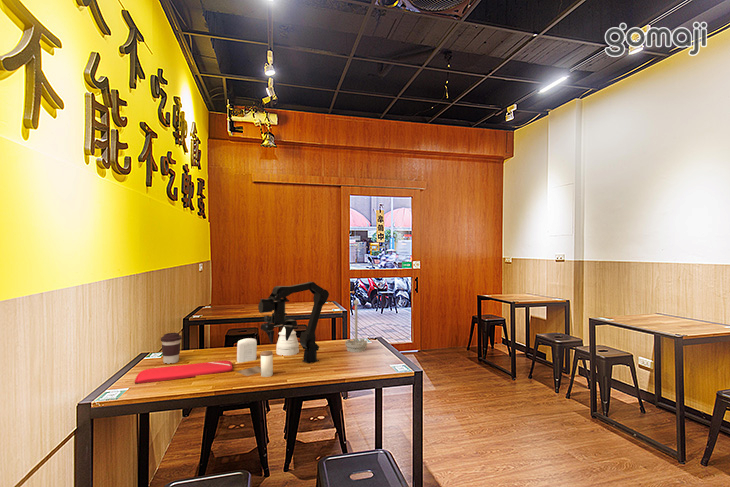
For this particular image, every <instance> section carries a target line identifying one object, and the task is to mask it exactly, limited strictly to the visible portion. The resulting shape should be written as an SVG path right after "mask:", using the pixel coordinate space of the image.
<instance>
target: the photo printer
mask: <svg viewBox="0 0 730 487" xmlns="http://www.w3.org/2000/svg"><path fill="white" fill-rule="evenodd" d="M257 344H258V343H257V339H256V338H252V337H250V338H249V337H248V338H243V339H240V340H238V341H237V344H236V362H237V363H245V362H252V361H256V360H257V351H258V350H257V349H258V348H257V347H258V346H257Z"/></svg>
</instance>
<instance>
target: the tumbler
mask: <svg viewBox="0 0 730 487" xmlns="http://www.w3.org/2000/svg"><path fill="white" fill-rule="evenodd" d="M273 353H274V352H273V351H272V350H264V351H260V367H261V373H260V376H261V377H263V378H268V377H272V376H273V375H274V370H273V368H274V365H273V363H274V362H273V358H274V357H273V356H274V355H273Z"/></svg>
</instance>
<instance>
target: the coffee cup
mask: <svg viewBox="0 0 730 487" xmlns="http://www.w3.org/2000/svg"><path fill="white" fill-rule="evenodd" d="M182 338H183V336H182V335H181V334H179V333H178V332H169V333H165V334H164V335H163V336H161V337H160V341H161V350H162V351H161V352H162V353H161V354H162V361H163V364H165V363H167V364H168V365H170V363H172V364H175V363H178V362H179V360H180V359H179V358H180V352H181V340H182Z"/></svg>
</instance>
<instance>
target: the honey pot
mask: <svg viewBox="0 0 730 487" xmlns="http://www.w3.org/2000/svg"><path fill="white" fill-rule="evenodd" d="M296 334H297V332H296V331H295V329H293V331H292V332H291V334H290V337H289V339H288V340H287V341H286V329H285V327H284V326H282V329H281V331H279V332H278V335H279V336H278V340H277V342H276V349H275V350H276V351H275V352H276V353H275V354H276V355H278V356H282V355H283V356H287V357H288V356H294V355H298V354H299V353H300V350H299V349H300V342H299V341H298V340H299V339H298V337H297V335H296ZM297 353H298V354H297Z"/></svg>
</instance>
